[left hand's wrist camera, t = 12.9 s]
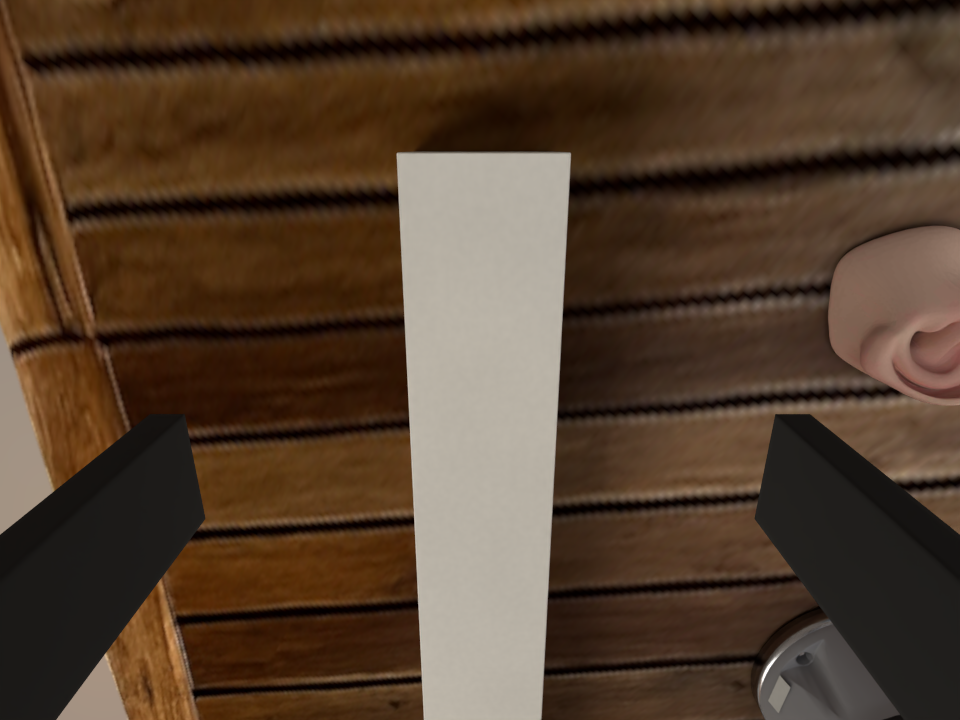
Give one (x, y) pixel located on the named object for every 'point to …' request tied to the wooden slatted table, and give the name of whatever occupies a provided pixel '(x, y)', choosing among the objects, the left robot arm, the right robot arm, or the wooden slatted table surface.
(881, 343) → the anatomical model
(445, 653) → the long square beam
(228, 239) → the wooden slatted table surface
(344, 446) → the wooden slatted table surface
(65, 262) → the wooden slatted table surface
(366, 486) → the wooden slatted table surface
